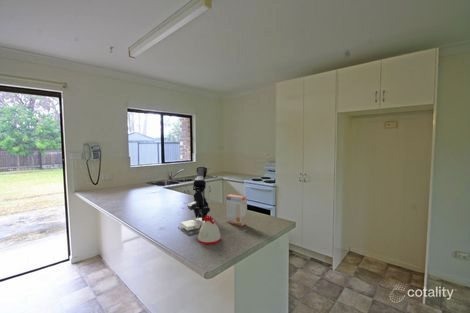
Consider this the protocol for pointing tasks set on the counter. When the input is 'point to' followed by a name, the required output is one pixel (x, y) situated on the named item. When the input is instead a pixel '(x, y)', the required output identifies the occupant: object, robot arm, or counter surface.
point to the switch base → (189, 230)
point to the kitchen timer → (209, 232)
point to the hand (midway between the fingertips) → (199, 219)
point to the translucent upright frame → (236, 209)
